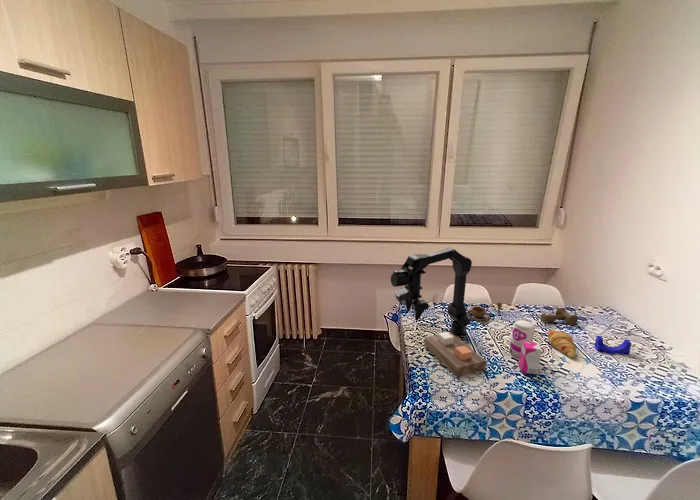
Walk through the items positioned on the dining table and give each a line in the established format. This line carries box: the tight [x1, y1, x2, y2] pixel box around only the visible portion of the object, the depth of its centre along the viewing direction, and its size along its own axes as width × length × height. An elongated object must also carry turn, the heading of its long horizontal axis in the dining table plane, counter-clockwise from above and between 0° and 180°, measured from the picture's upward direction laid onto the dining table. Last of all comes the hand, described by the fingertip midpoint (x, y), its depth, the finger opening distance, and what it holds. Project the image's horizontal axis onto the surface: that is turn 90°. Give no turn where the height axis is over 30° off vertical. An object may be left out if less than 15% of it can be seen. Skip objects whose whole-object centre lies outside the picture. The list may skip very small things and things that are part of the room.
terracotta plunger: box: [454, 346, 472, 361], centre depth 137 cm, size 5×5×4 cm
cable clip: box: [593, 335, 632, 356], centre depth 148 cm, size 12×4×6 cm, turn 71°
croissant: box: [547, 329, 577, 358], centre depth 152 cm, size 21×10×8 cm, turn 175°
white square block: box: [437, 331, 454, 345], centre depth 148 cm, size 5×5×4 cm
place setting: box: [466, 302, 503, 325], centre depth 180 cm, size 18×20×6 cm
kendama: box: [540, 307, 579, 326], centre depth 175 cm, size 6×10×20 cm
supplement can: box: [509, 319, 536, 359], centre depth 144 cm, size 8×8×15 cm
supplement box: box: [518, 341, 542, 376], centre depth 133 cm, size 6×6×12 cm
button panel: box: [423, 331, 487, 377], centre depth 143 cm, size 14×24×4 cm, turn 20°
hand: (412, 315), depth 150 cm, fingers open, 9 cm apart
